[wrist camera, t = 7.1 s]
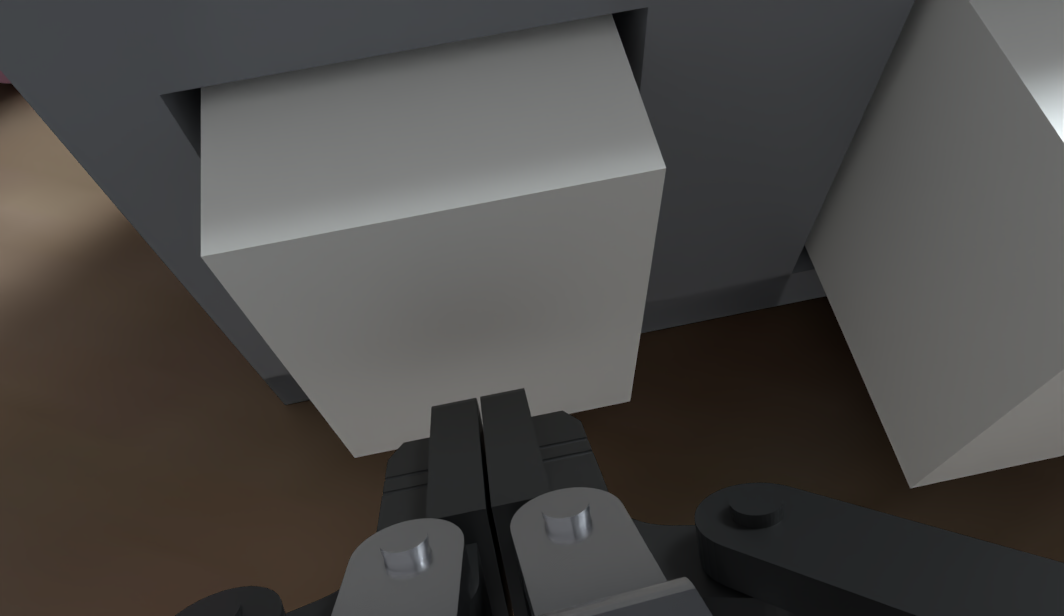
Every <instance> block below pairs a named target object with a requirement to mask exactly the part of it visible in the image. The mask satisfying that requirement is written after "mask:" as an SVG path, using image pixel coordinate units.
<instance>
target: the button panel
mask: <svg viewBox="0 0 1064 616" xmlns="http://www.w3.org/2000/svg"><path fill="white" fill-rule="evenodd" d="M914 2H915V0H0V70H1V71H2V73H3V74H4V75H5V76H6V77H7V78H8V80H9V81H10V82H11V83H12V84H13V86H14V87H15V88H16V89H17V90H18V91H19V93H20V94H21V95H22V96H23V97H24V98H25V100H26V101H27V102H28V103H29V104H30V106H31V107H32V108H33V109H34V110H35V111H36V113H37V114H38V115H39V116H40V117H41V118H42V120H43V121H44V122H45V123H46V124H47V126H48V127H49V128H50V129H51V130H52V131H53V133H54V134H55V135H56V136H57V137H58V138H59V140H60V141H61V142H62V143H63V144H64V146H65V147H66V148H67V149H68V150H69V151H70V153H71V154H72V155H73V156H74V157H75V158H76V160H77V161H78V162H79V163H80V164H81V166H82V167H83V168H84V169H85V170H86V171H87V173H88V174H89V175H90V176H91V177H92V178H93V180H94V181H95V182H96V183H97V184H98V185H99V187H100V188H101V189H102V190H103V191H104V193H105V194H106V195H107V196H108V197H109V198H110V200H111V201H112V202H113V203H114V204H115V205H116V207H117V208H118V209H119V210H120V211H121V213H122V214H123V215H124V216H125V217H126V218H127V220H128V221H129V222H130V223H131V224H132V225H133V227H134V228H135V229H136V230H137V231H138V233H139V234H140V235H141V236H142V237H143V238H144V240H145V241H146V242H147V243H148V244H149V245H150V247H151V248H152V249H153V250H154V251H155V253H156V254H157V255H158V256H159V257H160V258H161V260H162V261H163V262H164V263H165V264H166V265H167V267H168V268H169V269H170V270H171V271H172V273H173V274H174V275H175V276H176V277H177V278H178V280H179V281H180V282H181V283H182V284H183V285H184V287H185V288H186V289H187V290H188V291H189V293H190V294H191V295H192V296H193V297H194V298H195V300H196V301H197V302H198V303H199V304H200V305H201V307H202V308H203V309H204V310H205V311H206V313H207V314H208V315H209V316H210V317H211V318H212V320H213V321H214V322H215V323H216V324H217V325H218V327H219V328H220V329H221V330H222V331H223V333H224V334H225V335H226V336H227V337H228V338H229V340H230V341H231V342H232V343H233V344H234V345H235V347H236V348H237V349H238V350H239V351H240V353H241V354H242V355H243V356H244V357H245V358H246V360H247V361H248V362H249V363H250V364H251V365H252V367H253V368H254V369H255V370H256V371H257V373H258V374H259V375H260V376H261V377H262V378H263V380H264V381H265V382H266V383H267V384H268V385H269V387H270V388H271V389H272V390H273V391H274V392H275V394H276V395H277V396H278V397H279V398H280V400H281V401H282V402H283V403H284V404H285V405H287V404H292V403H297V402H302V401H307V400H310V399H309V398H308V396H307V395H306V394H305V392H304V391H303V390H302V388H301V387H300V386H299V385H298V383H297V382H296V381H295V379H294V378H293V377H292V375H291V374H290V373H289V371H288V370H287V369H286V368H285V366H284V365H283V364H282V362H281V361H280V360H279V358H278V357H277V356H276V354H275V353H274V352H273V351H272V349H271V348H270V347H269V345H268V344H267V343H266V341H265V340H264V339H263V337H262V336H261V335H260V334H259V332H258V331H257V330H256V328H255V327H254V326H253V324H252V323H251V322H250V321H249V319H248V318H247V317H246V315H245V314H244V313H243V311H242V310H241V309H240V307H239V306H238V305H237V304H236V302H235V301H234V300H233V298H232V297H231V296H230V294H229V293H228V292H227V290H226V289H225V288H224V287H223V285H222V284H221V283H220V281H219V280H218V279H217V277H216V276H215V275H214V273H213V272H212V271H211V270H210V268H209V267H208V266H207V264H206V263H205V262H204V260H203V259H202V258H201V87H206V86H212V85H217V84H223V83H228V82H234V81H240V80H245V79H251V78H256V77H262V76H267V75H273V74H278V73H284V72H290V71H295V70H301V69H306V68H312V67H317V66H323V65H329V64H334V63H340V62H345V61H351V60H356V59H362V58H367V57H373V56H379V55H384V54H390V53H395V52H401V51H406V50H412V49H417V48H423V47H429V46H434V45H440V44H445V43H451V42H456V41H462V40H468V39H473V38H479V37H484V36H490V35H495V34H501V33H506V32H512V31H518V30H523V29H529V28H534V27H540V26H545V25H551V24H556V23H562V22H568V21H573V20H579V19H584V18H590V17H595V16H601V15H607V14H612V16H613V19H614V22H615V25H616V28H617V30H618V33H619V36H620V39H621V42H622V44H623V47H624V50H625V53H626V56H627V59H628V61H629V64H630V67H631V70H632V73H633V76H634V78H635V81H636V84H637V87H638V90H639V93H640V95H641V98H642V101H643V104H644V107H645V110H646V112H647V115H648V118H649V121H650V124H651V126H652V129H653V132H654V135H655V138H656V141H657V143H658V146H659V149H660V152H661V155H662V158H663V160H664V163H665V166H666V173H665V179H664V186H663V192H662V199H661V205H660V211H659V218H658V224H657V231H656V237H655V244H654V250H653V257H652V263H651V270H650V276H649V283H648V289H647V296H646V302H645V309H644V315H643V322H642V328H641V333H645V332H650V331H655V330H660V329H665V328H670V327H675V326H680V325H685V324H690V323H695V322H700V321H705V320H710V319H715V318H720V317H725V316H730V315H735V314H740V313H745V312H750V311H755V310H759V309H764V308H769V307H774V306H779V305H784V304H789V303H794V302H799V301H804V300H809V299H814V298H819V297H824V296H827V295H826V293H825V291H824V289H823V286H822V284H821V282H820V279H819V277H818V275H817V272H816V270H815V268H814V265H813V263H812V261H811V259H810V256H809V254H808V252H807V249H806V247H805V243H806V240H807V238H808V236H809V234H810V231H811V229H812V227H813V225H814V223H815V220H816V218H817V216H818V214H819V212H820V209H821V207H822V205H823V203H824V201H825V198H826V196H827V194H828V192H829V190H830V187H831V185H832V183H833V181H834V178H835V176H836V174H837V172H838V170H839V167H840V165H841V163H842V161H843V159H844V156H845V154H846V152H847V150H848V148H849V145H850V143H851V141H852V139H853V136H854V134H855V132H856V130H857V128H858V125H859V123H860V121H861V119H862V117H863V114H864V112H865V110H866V108H867V106H868V103H869V101H870V99H871V97H872V95H873V92H874V90H875V88H876V86H877V83H878V81H879V79H880V77H881V75H882V72H883V70H884V68H885V66H886V64H887V61H888V59H889V57H890V55H891V53H892V50H893V48H894V46H895V44H896V41H897V39H898V37H899V35H900V33H901V30H902V28H903V26H904V24H905V22H906V19H907V17H908V15H909V13H910V11H911V8H912V6H913V4H914Z"/></svg>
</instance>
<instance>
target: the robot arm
mask: <svg viewBox="0 0 1064 616" xmlns="http://www.w3.org/2000/svg"><path fill="white" fill-rule="evenodd" d="M480 402H481V411H482V419H481V414H480V410H479V405H478V401H477V398H471V399H466V400H461V401H456V402H451V403H446V404H441V405H436V406H432V407H431V424H430V437H429V438H424V439H419V440H414V441H409V442H404V443H403V444H402V445H401V446H400V447H399V448H398V449H397V451H396V452H395V453H394V454H393V455H392V456H391V457H390V459H389V460H388V463H387V469H386V476H385V480H386V481H385V482H384V488H383V496H382V501H381V507H380V514H379V520H378V526H377V533H375V534H373V535H372V536H370V537H369V538H367V539H366V540H365V541H364V542H362V543H361V544H360V545H359V546H358V547H357V548H356V550H355V551H354V552H353V554H352V556H351V558H350V560H349V563H348V566H347V569H346V572H345V575H344V578H343V581H342V584H341V587H340V590H338V591H336V592H334V593H332V594H331V595H329V596H327V597H324V598H322V599H320V600H318V601H315V602H313V603H311V604H308V605H306V606H303V607H301V608H298V609H296V610H294V611H291V612H289V613H286V614H285V611H284V607H283V604H282V601H281V599H280V597H279V595H278V594H277V593H275V592H274V591H273V590H270V589H268V588H264V587H257V586H247V587H238V588H233V589H229V590H225V591H221V592H219V593H216V594H213V595H210V596H208V597H206V598H204V599H201V600H199V601H197V602H196V603H194V604H192V605H190V606H189V607H187V608H186V609H184V610H182V611H181V612H179V613H178V614H177V615H175V616H513V612H514V616H1064V563H1062V562H1058V561H1055V560H1051V559H1047V558H1044V557H1040V556H1037V555H1033V554H1030V553H1026V552H1022V551H1019V550H1015V549H1012V548H1008V547H1004V546H1001V545H997V544H994V543H990V542H986V541H983V540H979V539H976V538H972V537H968V536H965V535H961V534H958V533H954V532H950V531H947V530H943V529H940V528H936V527H933V526H929V525H925V524H922V523H918V522H915V521H911V520H907V519H904V518H900V517H897V516H893V515H889V514H886V513H882V512H879V511H875V510H871V509H868V508H864V507H861V506H857V505H854V504H850V503H846V502H843V501H839V500H836V499H832V498H828V497H825V496H821V495H818V494H814V493H810V492H807V491H803V490H800V489H796V488H792V487H789V486H784V485H780V484H773V483H746V484H739V485H735V486H730V487H727V488H724V489H721V490H719V491H717V492H715V493H713V494H711V495H710V496H708V497H707V498H705V499H704V500H703V501H702V502H701V503H700V504H699V506H698V508H697V509H696V512H695V525H679V526H670V525H656V524H649V523H645V522H641V521H638V520H635V519H632V518H631V517H630V516H629V514H628V512H627V510H626V509H625V507H624V505H623V504H622V502H621V501H620V500H619V499H618V498H617V497H616V496H614V495H613V494H611V493H609V492H608V489H607V487H606V484H605V482H604V479H603V477H602V474H601V471H600V469H599V466H598V464H597V461H596V459H595V456H594V454H593V452H592V449H591V446H590V443H589V441H588V440H587V436H586V433H585V431H584V428H583V426H582V423H581V421H580V420H578V419H576V418H575V417H573V416H571V415H569V414H568V413H566V412H564V411H563V410H562V411H557V412H552V413H547V414H542V415H537V416H532V417H531V413H530V409H529V405H528V401H527V397H526V393H525V389H524V388H521V389H516V390H511V391H506V392H501V393H496V394H491V395H486V396H481V397H480ZM482 421H483V424H482Z"/></svg>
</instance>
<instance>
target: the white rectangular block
mask: <svg viewBox="0 0 1064 616" xmlns="http://www.w3.org/2000/svg"><path fill="white" fill-rule="evenodd" d="M665 173H666V166H665V163H664V160H663V158H662V155H661V152H660V149H659V146H658V143H657V141H656V138H655V135H654V132H653V129H652V126H651V124H650V121H649V118H648V115H647V112H646V110H645V107H644V104H643V101H642V98H641V95H640V93H639V90H638V87H637V84H636V81H635V78H634V76H633V73H632V70H631V67H630V64H629V61H628V59H627V56H626V53H625V50H624V47H623V44H622V42H621V39H620V36H619V33H618V30H617V28H616V25H615V22H614V19H613V16H612V14H607V15H601V16H595V17H590V18H584V19H579V20H573V21H568V22H562V23H556V24H551V25H545V26H540V27H534V28H529V29H523V30H518V31H512V32H506V33H501V34H495V35H490V36H484V37H479V38H473V39H468V40H462V41H456V42H451V43H445V44H440V45H434V46H429V47H423V48H417V49H412V50H406V51H401V52H395V53H390V54H384V55H379V56H373V57H367V58H362V59H356V60H351V61H345V62H340V63H334V64H329V65H323V66H317V67H312V68H306V69H301V70H295V71H290V72H284V73H278V74H273V75H267V76H262V77H256V78H251V79H245V80H240V81H234V82H228V83H223V84H217V85H212V86H206V87H201V258H202V259H203V260H204V262H205V263H206V264H207V266H208V267H209V268H210V270H211V271H212V272H213V273H214V275H215V276H216V277H217V279H218V280H219V281H220V283H221V284H222V285H223V287H224V288H225V289H226V290H227V292H228V293H229V294H230V296H231V297H232V298H233V300H234V301H235V302H236V304H237V305H238V306H239V307H240V309H241V310H242V311H243V313H244V314H245V315H246V317H247V318H248V319H249V321H250V322H251V323H252V324H253V326H254V327H255V328H256V330H257V331H258V332H259V334H260V335H261V336H262V337H263V339H264V340H265V341H266V343H267V344H268V345H269V347H270V348H271V349H272V351H273V352H274V353H275V354H276V356H277V357H278V358H279V360H280V361H281V362H282V364H283V365H284V366H285V368H286V369H287V370H288V371H289V373H290V374H291V375H292V377H293V378H294V379H295V381H296V382H297V383H298V385H299V386H300V387H301V388H302V390H303V391H304V392H305V394H306V395H307V396H308V398H309V399H310V400H311V402H312V403H313V404H314V405H315V407H316V408H317V409H318V411H319V412H320V413H321V415H322V416H323V417H324V418H325V420H326V421H327V422H328V424H329V425H330V426H331V428H332V429H333V430H334V432H335V433H336V434H337V435H338V437H339V438H340V439H341V441H342V442H343V443H344V445H345V446H346V447H347V449H348V450H349V451H350V452H351V454H352V455H353V456H354V458H357V457H362V456H366V455H371V454H376V453H381V452H386V451H391V450H396V449H398V448H399V447H400V446H401V445H402V444H403V443H404V442H409V441H414V440H419V439H424V438H429V437H430V424H431V407H432V406H436V405H441V404H446V403H451V402H456V401H461V400H466V399H471V398H477V401H478V405H479V410H480V414H481V419H482V411H481V402H480V397H481V396H486V395H491V394H496V393H501V392H506V391H511V390H516V389H521V388H524V389H525V393H526V397H527V401H528V405H529V409H530V413H531V417H532V416H537V415H542V414H547V413H552V412H557V411H562V410H563V411H564V412H566V413H568V414H571V413H576V412H581V411H586V410H590V409H595V408H600V407H605V406H610V405H615V404H620V403H624V402H629V401H630V399H631V393H632V386H633V380H634V373H635V367H636V360H637V354H638V348H639V341H640V335H641V328H642V322H643V315H644V309H645V302H646V296H647V289H648V283H649V276H650V270H651V263H652V257H653V250H654V244H655V237H656V231H657V224H658V218H659V211H660V205H661V199H662V192H663V186H664V179H665ZM482 424H483V421H482Z"/></svg>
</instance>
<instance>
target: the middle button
mask: <svg viewBox="0 0 1064 616" xmlns="http://www.w3.org/2000/svg"><path fill="white" fill-rule="evenodd" d="M805 247H806V249H807V252H808V254H809V256H810V259H811V261H812V263H813V265H814V268H815V270H816V272H817V275H818V277H819V279H820V282H821V284H822V286H823V289H824V291H825V293H826V295H827V298H828V300H829V302H830V305H831V307H832V309H833V312H834V314H835V316H836V319H837V321H838V323H839V325H840V328H841V330H842V332H843V335H844V337H845V339H846V342H847V344H848V346H849V348H850V351H851V353H852V355H853V358H854V360H855V362H856V365H857V367H858V369H859V372H860V374H861V376H862V378H863V381H864V383H865V385H866V388H867V390H868V392H869V395H870V397H871V399H872V402H873V404H874V406H875V408H876V411H877V413H878V415H879V418H880V420H881V422H882V425H883V427H884V429H885V431H886V434H887V436H888V438H889V441H890V443H891V445H892V448H893V450H894V452H895V455H896V457H897V459H898V461H899V464H900V466H901V468H902V471H903V473H904V475H905V478H906V480H907V482H908V484H909V487H910V488H915V487H920V486H924V485H929V484H933V483H938V482H943V481H947V480H952V479H957V478H961V477H966V476H971V475H975V474H980V473H985V472H989V471H994V470H999V469H1003V468H1008V467H1013V466H1017V465H1022V464H1027V463H1031V462H1036V461H1040V460H1045V459H1050V458H1054V457H1059V456H1064V0H915V2H914V4H913V6H912V8H911V11H910V13H909V15H908V17H907V19H906V22H905V24H904V26H903V28H902V30H901V33H900V35H899V37H898V39H897V41H896V44H895V46H894V48H893V50H892V53H891V55H890V57H889V59H888V61H887V64H886V66H885V68H884V70H883V72H882V75H881V77H880V79H879V81H878V83H877V86H876V88H875V90H874V92H873V95H872V97H871V99H870V101H869V103H868V106H867V108H866V110H865V112H864V114H863V117H862V119H861V121H860V123H859V125H858V128H857V130H856V132H855V134H854V136H853V139H852V141H851V143H850V145H849V148H848V150H847V152H846V154H845V156H844V159H843V161H842V163H841V165H840V167H839V170H838V172H837V174H836V176H835V178H834V181H833V183H832V185H831V187H830V190H829V192H828V194H827V196H826V198H825V201H824V203H823V205H822V207H821V209H820V212H819V214H818V216H817V218H816V220H815V223H814V225H813V227H812V229H811V231H810V234H809V236H808V238H807V240H806V243H805Z"/></svg>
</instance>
